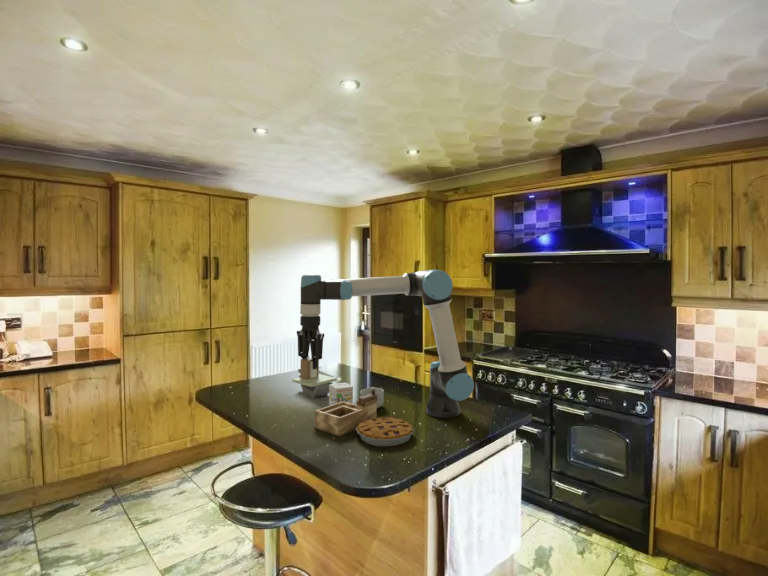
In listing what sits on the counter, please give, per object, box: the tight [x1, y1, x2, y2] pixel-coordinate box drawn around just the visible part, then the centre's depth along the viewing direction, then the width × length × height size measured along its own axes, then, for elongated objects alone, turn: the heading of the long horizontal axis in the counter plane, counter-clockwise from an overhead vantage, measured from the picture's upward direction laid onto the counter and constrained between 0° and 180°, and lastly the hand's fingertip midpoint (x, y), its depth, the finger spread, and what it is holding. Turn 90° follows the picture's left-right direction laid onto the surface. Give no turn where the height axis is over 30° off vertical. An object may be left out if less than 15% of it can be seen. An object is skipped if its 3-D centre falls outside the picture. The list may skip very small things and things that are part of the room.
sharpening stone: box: [297, 368, 334, 399], centre depth 217 cm, size 25×8×11 cm, turn 35°
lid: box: [292, 357, 338, 387], centre depth 159 cm, size 11×13×8 cm
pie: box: [355, 416, 415, 447], centre depth 160 cm, size 22×22×5 cm
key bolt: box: [358, 389, 377, 406], centre depth 178 cm, size 2×9×5 cm, turn 142°
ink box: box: [328, 382, 354, 406], centre depth 190 cm, size 8×8×12 cm
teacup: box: [359, 386, 385, 409], centre depth 197 cm, size 14×11×8 cm
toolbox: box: [314, 399, 378, 437], centre depth 173 cm, size 14×23×9 cm, turn 142°
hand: (309, 376), depth 161 cm, fingers closed on lid, 3 cm apart
